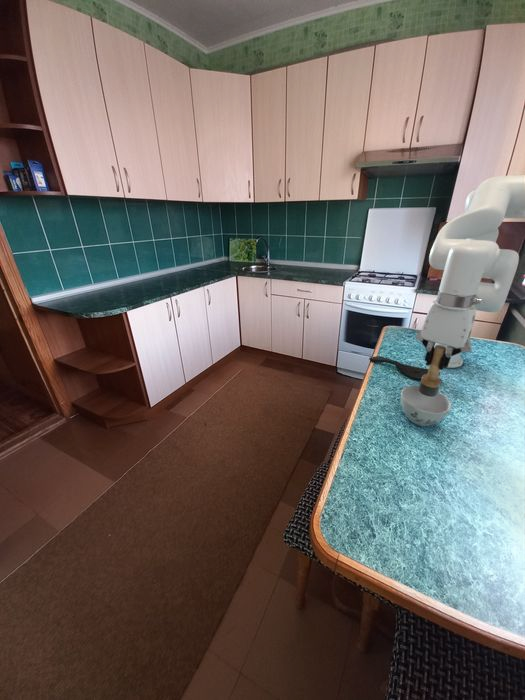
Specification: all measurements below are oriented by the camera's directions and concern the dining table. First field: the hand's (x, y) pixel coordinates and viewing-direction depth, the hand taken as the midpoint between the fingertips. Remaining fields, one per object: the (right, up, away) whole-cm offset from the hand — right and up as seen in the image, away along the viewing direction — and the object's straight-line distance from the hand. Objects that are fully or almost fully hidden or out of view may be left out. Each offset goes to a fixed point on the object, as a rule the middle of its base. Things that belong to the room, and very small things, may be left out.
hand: (435, 365), depth 77 cm
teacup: (0, -16, +8) cm, 18 cm away
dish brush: (0, -8, +4) cm, 9 cm away
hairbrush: (+6, -3, +32) cm, 33 cm away
